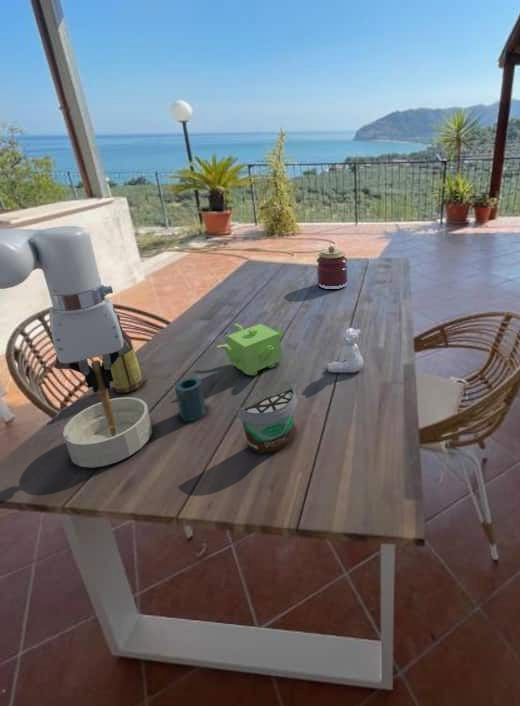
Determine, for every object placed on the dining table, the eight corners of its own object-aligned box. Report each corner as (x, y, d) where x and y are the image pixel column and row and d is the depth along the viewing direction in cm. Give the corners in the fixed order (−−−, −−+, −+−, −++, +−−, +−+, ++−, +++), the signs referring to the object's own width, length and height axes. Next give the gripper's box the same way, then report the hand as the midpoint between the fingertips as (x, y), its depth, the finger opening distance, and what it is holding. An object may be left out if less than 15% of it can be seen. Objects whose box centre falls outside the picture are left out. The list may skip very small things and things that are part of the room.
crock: (176, 420, 86) (170, 389, 83) (189, 405, 90) (184, 376, 88) (197, 422, 85) (192, 391, 82) (210, 408, 90) (205, 378, 87)
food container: (255, 468, 73) (249, 424, 69) (241, 449, 77) (236, 407, 74) (310, 438, 80) (308, 397, 77) (295, 423, 85) (292, 384, 81)
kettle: (221, 381, 100) (215, 342, 96) (235, 354, 113) (230, 318, 110) (280, 379, 101) (276, 340, 97) (286, 352, 114) (284, 317, 110)
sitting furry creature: (344, 356, 112) (343, 318, 108) (370, 363, 108) (371, 324, 104) (326, 371, 104) (324, 331, 100) (354, 380, 100) (353, 338, 96)
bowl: (52, 465, 74) (43, 439, 72) (109, 416, 87) (103, 394, 85) (119, 474, 71) (111, 448, 69) (167, 423, 85) (162, 400, 83)
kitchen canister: (342, 291, 162) (342, 250, 156) (313, 289, 165) (311, 249, 159) (350, 282, 174) (350, 243, 168) (323, 279, 177) (321, 241, 171)
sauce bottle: (140, 377, 102) (124, 307, 95) (145, 388, 97) (129, 315, 90) (111, 386, 98) (92, 314, 91) (115, 398, 93) (96, 323, 87)
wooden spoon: (111, 441, 77) (91, 366, 71) (110, 433, 79) (90, 360, 73) (119, 438, 78) (100, 363, 72) (118, 430, 80) (99, 358, 74)
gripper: (126, 283, 75) (144, 366, 82) (23, 300, 67) (51, 391, 73) (131, 295, 70) (150, 383, 76) (19, 315, 61) (50, 412, 67)
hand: (101, 386), depth 74 cm, fingers closed on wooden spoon, 1 cm apart
